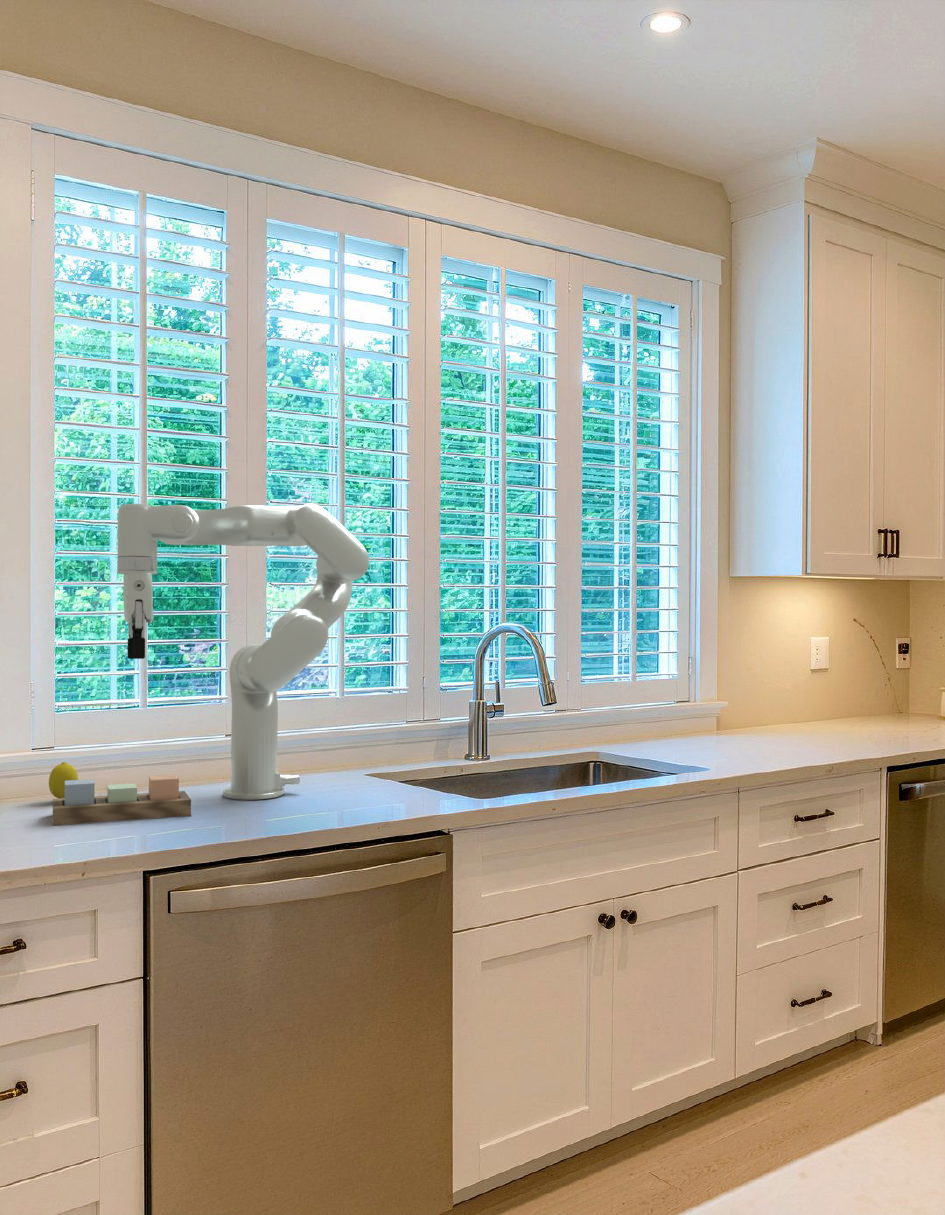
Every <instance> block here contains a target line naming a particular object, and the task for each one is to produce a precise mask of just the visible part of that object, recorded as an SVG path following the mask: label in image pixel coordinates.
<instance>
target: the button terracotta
mask: <svg viewBox="0 0 945 1215" xmlns="http://www.w3.org/2000/svg"><path fill="white" fill-rule="evenodd" d="M179 787H180V779H179V777H178V775H177V774H165V775H149V776H148V793H149V800H164V799H179V791H180V790H179V789H180V788H179Z"/></svg>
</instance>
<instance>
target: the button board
mask: <svg viewBox="0 0 945 1215" xmlns="http://www.w3.org/2000/svg"><path fill="white" fill-rule="evenodd" d="M177 817H178V818H179V817H192V799H191V798H190V796H189V794H188V793H187V792H186V791H185V790H179V799H164V800H149V792H144V793H137V801H132V802H116V803H107V795H94V804H85V805H69V806H65V798H52V826H62V825H64V826H65V825H75V824H76V825H77V824H78V825H79V824H94V823H107V822H120V821H134V820H135V821H137V820H147V819H148V820H150V819H151V820H152V819H164V818H177Z"/></svg>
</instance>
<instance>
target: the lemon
mask: <svg viewBox="0 0 945 1215" xmlns="http://www.w3.org/2000/svg"><path fill="white" fill-rule="evenodd" d="M67 780H79V774H78V771H77V770H76V768H75V767H74V766H73V765H72V764H69V763H68V762H66V761H62V762H61V763H60V764H58V765H56V766H55V767H54V768H53V769H52V770H51V771H50V774H49V777H48V789H49V791H50V794H51V795H53V797H54V798H55V799H57V798H65V781H67Z"/></svg>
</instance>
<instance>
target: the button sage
mask: <svg viewBox="0 0 945 1215" xmlns="http://www.w3.org/2000/svg"><path fill="white" fill-rule="evenodd" d="M137 786H138V785H137V784H136V783H119V784H107V789H106V790H107V793H106V794H107V795H106V796H107V803H116V802H132V801H137V794H138V787H137Z"/></svg>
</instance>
